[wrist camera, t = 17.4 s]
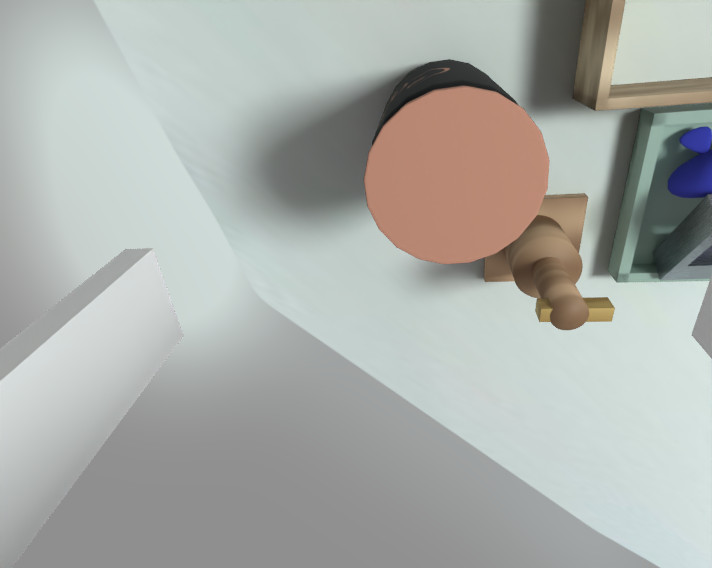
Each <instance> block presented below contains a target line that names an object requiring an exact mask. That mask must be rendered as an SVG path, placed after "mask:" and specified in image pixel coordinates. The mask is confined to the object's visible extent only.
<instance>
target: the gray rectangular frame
mask: <svg viewBox="0 0 712 568" xmlns="http://www.w3.org/2000/svg"><path fill="white" fill-rule="evenodd" d="M652 253H653V257H654V261H655V265H656V268H657V272H658V276H659V280H682V279H708V278H711V276H712V194H708V195H707V196H706V197H705V198H704V199H703V200H702V201H701V202H700V203H699V204H698V205H697V206H696V207H695V208H694V209H693V210H692V211H691V212H690V214H689V215H688V216H687V217H686V218H685V219H684V220H683V221H682V222H681V223H680V224H679V225H678V226H677V227H676V228H675V229H674V230H673V231H672V232H671V234H670V235H669V236H668V237H667V238H666V239H665V240H664V241H663V242H662V243H661V244H660V245H659V246H658V247H657V248H656V249H655V250H654V251H653V252H652Z"/></svg>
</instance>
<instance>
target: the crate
mask: <svg viewBox="0 0 712 568" xmlns="http://www.w3.org/2000/svg"><path fill="white" fill-rule="evenodd" d="M624 5H625V0H586V3H585V10H584V18H583V25H582V32H581V40H580V47H579V55H578V62H577V69H576V77H575V84H574V92H573V99H575V100H577V101H578V102H580V103H582V104H584V105H586V106H588V107H589V108H591V109H593V110H595V111H598V110H612V109H625V108H639V107H653V106H667V105H680V104H694V103H708V102H712V77H710V78H698V79H685V80H673V81H660V82H648V83H635V84H623V85H611V81H612V75H613V69H614V63H615V58H616V52H617V46H618V40H619V34H620V29H621V23H622V17H623V11H624Z"/></svg>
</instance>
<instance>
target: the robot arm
mask: <svg viewBox="0 0 712 568" xmlns="http://www.w3.org/2000/svg"><path fill="white" fill-rule="evenodd" d="M692 336H693V337H694V338H695V339H696V341H697V342H698V343H699V344H700V345H701V347H702V348H703V349H704V350H705V351H706V352H707V354H708V355H709V356H710V357H711V358H712V276H711V279H710V282H709V285H708V288H707V291H706V294H705V297H704V300H703V303H702V306H701V309H700V312H699V314H698V317H697V320H696V323H695V326H694V329H693V332H692ZM182 337H183V333H182V330H181V327H180V324H179V322H178V319H177V316H176V313H175V310H174V308H173V304H172V302H171V299H170V296H169V293H168V290H167V287H166V285H165V282H164V279H163V276H162V273H161V271H160V268H159V265H158V262H157V259H156V256H155V254H154V250H153V249H126V250H124V251H123V252H121V253H120V254H119V255H118V256H117V257H115V258H114V259H113V260H111V261H110V262H109V263H108V264H106V265H105V266H104V267H103V268H101V269H100V270H99V271H97V272H96V273H95V274H94V275H92V276H91V277H90V278H89V279H87V280H86V281H85V282H84V283H82V284H81V285H80V286H79V287H77V288H76V289H75V290H74V291H72V292H71V293H70V294H69V295H67V296H66V297H65V298H64V299H62V300H61V301H60V302H58V303H57V304H56V305H55V306H53V307H52V308H51V309H50V310H48V311H47V312H46V313H44V314H43V315H42V316H41V317H39V318H38V319H37V320H36V321H34V322H33V323H32V324H31V325H29V326H28V327H27V328H26V329H24V330H23V331H22V332H21V333H19V334H18V335H17V336H15V337H14V338H13V339H12V340H11V341H9V342H8V343H7V344H5V345H4V346H3V347H2V348H1V349H0V568H12V567H13V565H14V564H15V563H16V561H17V560H18V558H19V557H20V556H21V555H22V553H23V552H24V550H25V549H26V548H27V546H28V545H29V544H30V542H31V541H32V540H33V538H34V537H35V536H36V534H37V533H38V532H39V530H40V529H41V528H42V526H43V525H44V523H45V522H46V521H47V519H48V518H49V517H50V515H51V514H52V513H53V511H54V510H55V508H56V507H57V506H58V504H59V503H60V502H61V501H62V499H63V498H64V496H65V495H66V494H67V492H68V491H69V490H70V488H71V487H72V486H73V484H74V483H75V482H76V480H77V479H78V478H79V476H80V475H81V474H82V472H83V471H84V469H85V468H86V467H87V465H88V464H89V462H90V461H91V460H92V459H93V457H94V456H95V455H96V453H97V452H98V451H99V449H100V448H101V447H102V445H103V444H104V442H105V441H106V440H107V438H108V437H109V436H110V434H111V433H112V432H113V430H114V429H115V428H116V426H117V425H118V424H119V422H120V421H121V420H122V418H123V417H124V416H125V414H126V413H127V411H128V410H129V409H130V407H131V406H132V405H133V403H134V402H135V401H136V399H137V398H138V397H139V395H140V394H141V393H142V391H143V390H144V388H145V387H146V386H147V384H148V383H149V382H150V380H151V379H152V378H153V376H154V375H155V374H156V372H157V371H158V369H159V368H160V367H161V366H162V364H163V363H164V361H165V360H166V359H167V357H168V356H169V355H170V353H171V352H172V351H173V349H174V348H175V346H176V345H177V344H178V343H179V341H180V340H181V339H182Z"/></svg>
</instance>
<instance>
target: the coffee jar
mask: <svg viewBox="0 0 712 568" xmlns="http://www.w3.org/2000/svg"><path fill="white" fill-rule="evenodd" d="M548 173H549V157H548V154H547V150H546V147H545V143H544V140H543V136H542V133H541V131H540V130H539V128H538V127H537V126H536V125H535V123H534V122H533V121H532V119H531V118H530V117H529V115H528V114H527V113H526V111H525V110H524V109H523V108H522V107H520V106H519V105H518V104H517V103H516V101H515V100H514V99H513V98H512V97H511V96H510V95H508V94H507V93H506V92H505V91H504V90H503V89H502V88H501V87H500V86H499V85H497V84H496V83H495V82H494V81H493V80H492V79H491V78H490V77H489V76H487V75H486V74H485V73H484V72H482V71H480V70H479V69H477V68H475V67H474V66H472V65H471V64H469V63H464V62H459V61H454V60H450V59H449V60H442V61H436V62H429V63H427V64H425V65H423V66H421V67H419V68H417V69H415V70H414V71H412V72H410V73H409V74H408V75H407V76H406V77H405V78H404V79H403V80H402V81H401V82H400V83H399V84H398V85H397V86H396V88H395V90H394V92H393V94H392V95H391V97H390V99H389V101H388V103H387V105H386V108H385V110H384V113H383V116H382V118H381V121H380V123H379V126H378V129H377V131H376V134H375V136H374V139H373V142H372V147H371V149H370V151H369V154H368V159H367V165H366V170H365V176H364V185H365V192H366V199H367V206H368V208H369V210H370V212H371V214H372V216H373V218H374V220H375V222H376V224H377V226H378V228H379V230H380V231H381V232H382V233H383V234H384V235H385V236H386V237H387V238H388V239H389V240H390V241H391V242H392V243H393V244H394V245H395V246H396V247H397V248H399V249H401V250H403V251H405V252H407V253H409V254H410V255H412V256H414V257H416V258H418V259H421V260H426V261H431V262H436V263H440V264H455V263H469V262H473V261H476V260H479V259H481V258H484V257H487V256H490V255H493V254H496V253H497V252H499V251H500V250H501V249H503V248H504V247H506V246H507V245H509V244H510V243H512V242H513V241H514V240H516V239H517V238H519V237H520V235H521V234H522V233H523V232H524V230H525V229H526V228H527V227H528V226H529V224H530V223H531V222H532V221H533V219H534V218H535V217H536V216H537V213H538V211H539V208H540V206H541V203H542V201H543V199H544V196H545V194H546V191H547V188H548Z"/></svg>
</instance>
